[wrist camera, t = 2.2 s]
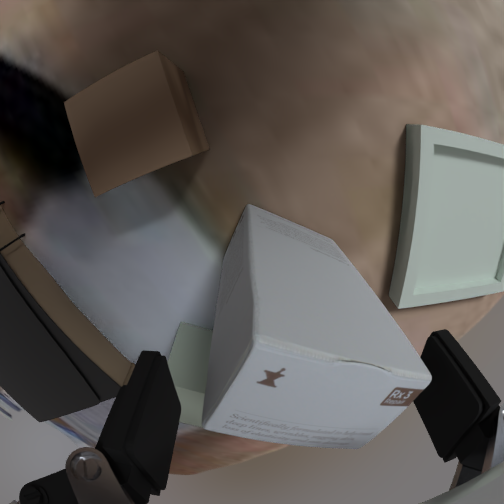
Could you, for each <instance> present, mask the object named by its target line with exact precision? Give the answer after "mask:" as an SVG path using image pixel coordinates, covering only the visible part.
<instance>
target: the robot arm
mask: <svg viewBox="0 0 504 504" xmlns="http://www.w3.org/2000/svg"><path fill="white" fill-rule="evenodd" d="M420 358H421V360H422V361H423V363H424V364H425V366H426V367H427V369H428V370H429V372H430V374H431V376H432V380H431V382H430V384H429V385H428V386H427V387H426V388H425V389H424V390H423V391H422V392H421V393H420V394H419V395H418V396H417V397H416V398H415V399H414V401H413V402H414V404H415V406H416V408H417V410H418V412H419V414H420V416H421V418H422V420H423V423H424V424H425V427H426V429H427V431H428V433H429V435H430V437H431V440H432V442H433V444H434V447H435V449H436V451H437V453H438V455H439V456H440V457H441V458H443V460H444V462H447V461H450V460H452V459H454V458H456V457H458V459H459V462H458V465H457V469H456V472H455V475H454V478H453V481H452V484H451V486H450V489H449V491H448V492H445V493H443V494H441V495H439V496H437V497H434V498H432V499H430V500H427V501H425V502H422V503H420V504H504V404H503V405H502V406H501V407H500V406H499V403H500V402H501V400H500V398H499V397H498V396H497V394H496V393H495V391H494V390H493V388H492V387H491V386H490V384H489V383H488V381H487V380H486V379H485V377H484V376H483V375H482V373H481V372H480V370H479V369H478V368H477V366H476V365H475V364H474V363H473V361H472V360H471V359H470V358H469V356H468V355H467V353H466V352H465V351H464V350H463V348H462V347H461V346H460V345H459V343H458V342H457V341H456V340H455V338H454V337H453V336H452V335H451V334H450V332H449V331H448V330H446V329H444V330H439V331H435V332H432V333H431V335H430V336H429V337H428V339H427V341H426V344H425V347H424V349H423V352H422V355H421V357H420ZM180 416H181V403H180V400H179V398H178V395H177V392H176V389H175V386H174V382H173V379H172V376H171V373H170V370H169V366H168V363H167V360H166V357H165V356H161V354H160V352H158V351H142V352H141V354H140V356H139V358H138V361H137V363H136V365H135V367H134V370H133V372H132V374H131V377H130V379H129V381H128V384H127V385H123V386H122V387H121V388H120V390H119V392H118V394H117V396H116V399H115V401H114V403H113V406H112V408H111V410H110V413H109V415H108V418H107V420H106V422H105V425H104V427H103V430H102V432H101V435H100V437H99V440H98V442H97V445H96V447H95V449H94V448H89V447H84V448H79V449H77V450H75V451H73V452H72V453H71V454H70V455H69V457H68V459H67V461H66V469H63V470H61V471H59V472H56V473H53V474H51V475H48V476H46V477H43V478H40V479H38V480H35V481H32V482H29V483H27V484H26V485H24V487H23V488H22V489H21V491H20V496H19V501H18V502H17V501H16V500H14V501H12V502H11V503H10V504H147V503H148V502H149V497H150V494H152V495H157V496H159V495H160V490H165V488H166V484H167V480H168V474H169V469H170V464H171V459H172V454H173V449H174V444H175V439H176V434H177V430H178V425H179V420H180Z"/></svg>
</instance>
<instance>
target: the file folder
mask: <svg viewBox="0 0 504 504" xmlns="http://www.w3.org/2000/svg"><path fill="white" fill-rule="evenodd" d="M3 203H5V202H4V201H3V202H0V386H1V387H2V388H3V389H4V390H5V391H6V392H7V393H8V394H9V395H10V396H11V397H12V398H13V399H14V400H15V401H16V402H17V403H18V404H19V405H20V406H21V407H22V408H24V409H25V410H26V411H27V412H28V413H29V414H30V415H31V416H33V417H34V418H35V419H36V420H37V421H39V422H43V421H47V420H50V419H54V418H57V417H60V416H64V415H67V414H70V413H73V412H77V411H80V410H83V409H86V408H89V407H92V406H95V405H98V404H99V403H100V402H102V401H105V400H108V399H111V398H114V397H116V396H117V394H118V392H119V390H120V388H121V387H122V386H123V385H127V384H128V381H129V379H130V377H131V374H132V372H133V370H134V367H135V365H134V363H133V362H132V363H131V362H130V361H129V360H127V359H126V358H125V357H124V356H123V355H122V354H121V353H120V352H119V351H118V350H117V349H116V348H115V347H114V346H113V345H112V344H111V343H110V342H109V341H108V340H107V339H106V338H105V337H104V336H103V335H102V334H101V333H100V331H99V330H98V329H97V328H96V327H95V326H94V325H93V324H92V323H91V322H90V321H89V320H88V319H87V318H86V317H85V316H84V315H83V314H82V313H81V312H80V311H79V309H78V308H77V307H76V306H75V305H74V304H73V303H72V301H71V300H70V299H69V298H68V296H67V295H66V294H65V293H64V291H63V290H62V289H61V288H60V286H59V285H58V284H57V283H56V281H55V280H54V279H53V277H52V276H51V275H50V274H49V273H48V272H47V270H46V269H45V268H44V267H43V265H42V264H41V263H40V262H39V261H38V260H37V259H36V258H35V257H34V256H33V254H32V253H31V252H30V251H29V250H28V248H27V247H26V246H25V245H24V243H23V242H22V240H21V239H20V238H22V237H23V236H25V233H24V234H22V235H21V236H18V235H17V233H16V232H15V230H14V229H13V227H12V225H11V224H10V222H9V220H8V218H7V217H6V215H5V213H4V211H3V209H2V207H1V204H3Z"/></svg>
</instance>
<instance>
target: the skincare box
mask: <svg viewBox="0 0 504 504" xmlns="http://www.w3.org/2000/svg"><path fill="white" fill-rule="evenodd" d="M431 380H432V376H431V374H430V372H429V370H428V369H427V367H426V366H425V364H424V363H423V361H422V360H421V358H420V357H419V355H418V353H417V352H416V350H415V349H414V347H413V346H412V344H411V343H410V342H409V340H408V339H407V337H406V336H405V334H404V333H403V331H402V330H401V329H400V327H399V326H398V324H397V323H396V322H395V320H394V319H393V317H392V316H391V315H390V313H389V312H388V310H387V309H386V308H385V306H384V305H383V304H382V302H381V301H380V300H379V298H378V297H377V296H376V294H375V293H374V292H373V290H372V289H371V288H370V286H369V285H368V284H367V282H366V281H365V280H364V279H363V277H362V276H361V275H360V273H359V272H358V271H357V269H356V268H355V267H354V266H353V264H352V263H351V262H350V261H349V259H348V258H347V257H346V255H345V254H344V253H343V252H342V251H341V249H340V248H339V247H338V246H337V244H336V243H335V242H334V241H333V240H332V239H330V238H328V237H326V236H323V235H321V234H319V233H317V232H314V231H312V230H310V229H308V228H305V227H303V226H301V225H299V224H296V223H294V222H292V221H289V220H287V219H285V218H282V217H280V216H278V215H275V214H273V213H270V212H268V211H266V210H263V209H261V208H259V207H256V206H254V205H251V204H247V205H246V207H245V209H244V212H243V214H242V216H241V218H240V221H239V223H238V225H237V227H236V230H235V232H234V234H233V237H232V239H231V241H230V244H229V246H228V248H227V251H226V253H225V256H224V259H223V265H222V273H221V279H220V285H219V292H218V299H217V305H216V312H215V320H214V327H213V334H212V341H211V348H210V356H209V363H208V374H207V384H206V390H205V396H204V403H203V412H202V427H203V428H204V429H206V430H210V431H214V432H219V433H223V434H228V435H233V436H238V437H243V438H249V439H254V440H260V441H267V442H273V443H281V444H289V445H297V446H308V447H322V448H346V449H359V448H361V447H362V446H364V445H365V444H366V443H368V442H369V441H370V440H372V439H373V438H374V437H375V436H377V435H378V434H379V433H380V432H381V431H382V430H383V429H384V428H386V427H387V426H388V425H389V424H390V423H391V422H392V421H393V420H394V419H395V418H396V417H397V416H399V415H400V414H401V413H402V412H403V410H405V409H406V408H407V407H408V406H409V405H410V404H411V402H413V401H414V399H415V398H416V397H417V396H418V395H419V394H420V393H421V392H422V391H423V390H424V389H425V388H426V387H427V386H428V385H429V384H430V382H431Z"/></svg>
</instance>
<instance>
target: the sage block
mask: <svg viewBox="0 0 504 504" xmlns="http://www.w3.org/2000/svg"><path fill="white" fill-rule="evenodd" d="M212 334H213V330H209V329H205V328H202V327H198V326H195V325H191V324H188V323H184V322H181V323H180V326H179V329H178V332H177V335H176V338H175V341H174V344H173V347H172V350H171V353H170V356H169V359H168V362H167V363H168V366H169V370H170V373H171V376H172V379H173V382H174V386H175V389H176V392H177V395H178V398H179V400H180V403H181V416H180V420H179V422H181V423H185V424H189V425H193V426H198V427H202V412H203V403H204V396H205V390H206V384H207V374H208V363H209V356H210V348H211V341H212ZM202 428H203V427H202Z"/></svg>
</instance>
